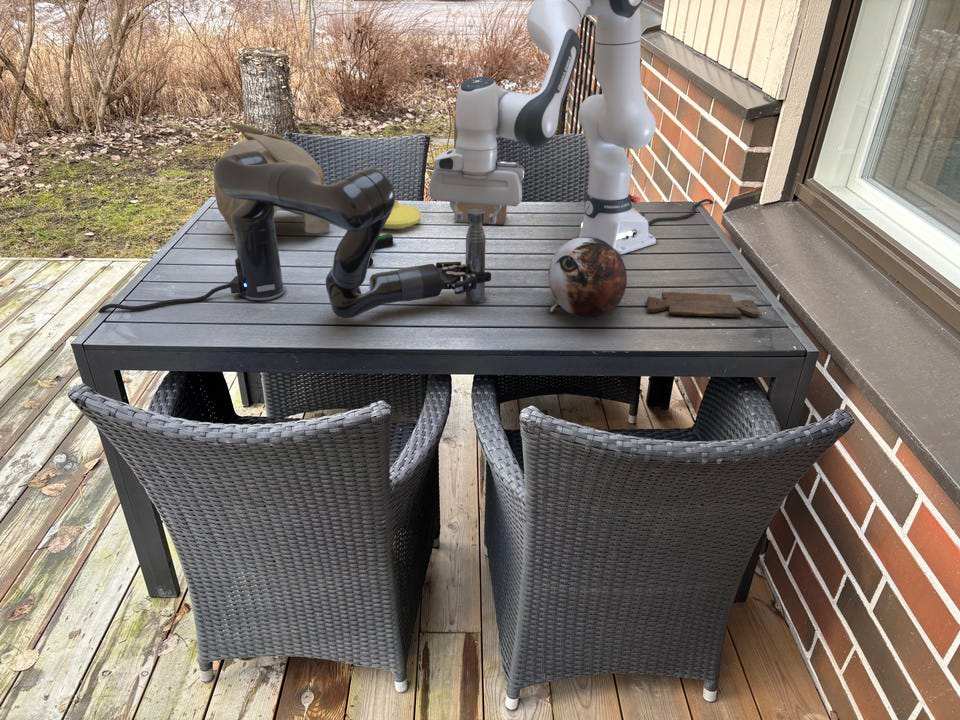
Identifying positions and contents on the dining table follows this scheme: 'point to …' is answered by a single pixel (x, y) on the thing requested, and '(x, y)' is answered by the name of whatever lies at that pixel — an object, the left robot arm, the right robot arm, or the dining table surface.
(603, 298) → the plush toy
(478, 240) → the bottle
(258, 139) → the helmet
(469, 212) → the cap
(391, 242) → the handgun
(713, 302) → the dark wooden board
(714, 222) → the dining table surface
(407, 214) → the yellow domed disc
